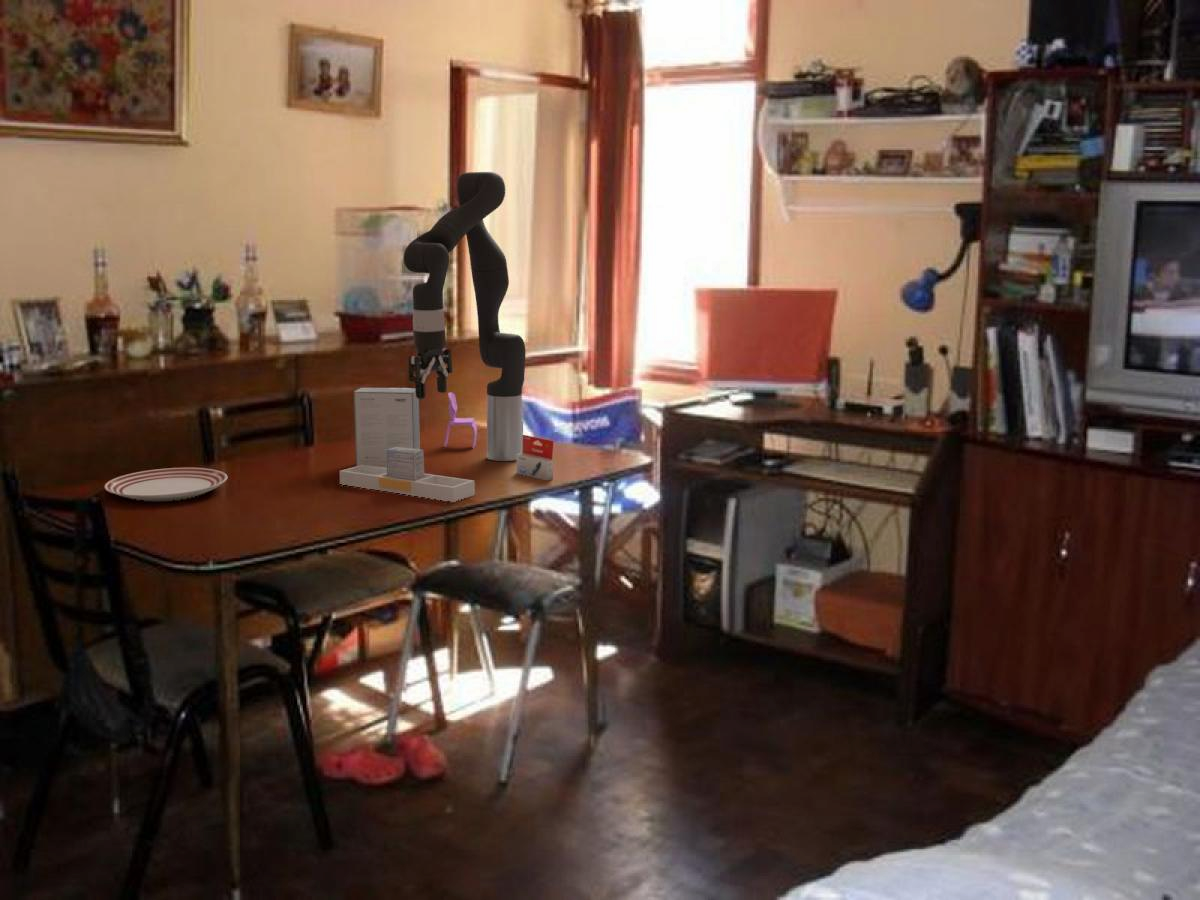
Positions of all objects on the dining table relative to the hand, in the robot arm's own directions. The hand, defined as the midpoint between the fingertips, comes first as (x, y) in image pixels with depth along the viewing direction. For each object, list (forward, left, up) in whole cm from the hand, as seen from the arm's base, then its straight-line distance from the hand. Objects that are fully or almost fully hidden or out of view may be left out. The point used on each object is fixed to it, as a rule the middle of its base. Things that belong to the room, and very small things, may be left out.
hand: (431, 395), depth 320 cm
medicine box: (+8, -2, -21) cm, 23 cm away
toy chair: (-42, -21, -22) cm, 52 cm away
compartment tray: (+8, -2, -22) cm, 23 cm away
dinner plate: (+39, -48, -22) cm, 66 cm away
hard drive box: (-11, -22, -22) cm, 33 cm away
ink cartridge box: (-21, +16, -22) cm, 35 cm away
